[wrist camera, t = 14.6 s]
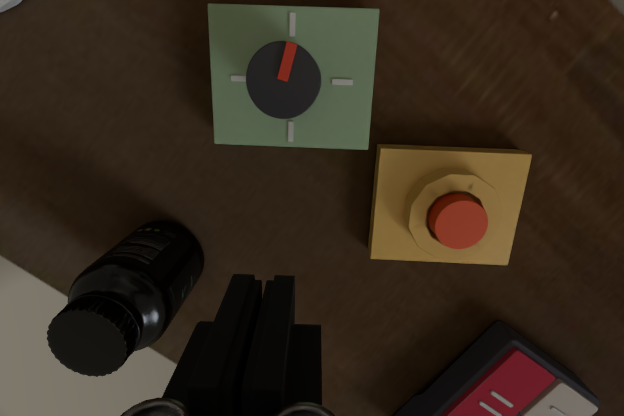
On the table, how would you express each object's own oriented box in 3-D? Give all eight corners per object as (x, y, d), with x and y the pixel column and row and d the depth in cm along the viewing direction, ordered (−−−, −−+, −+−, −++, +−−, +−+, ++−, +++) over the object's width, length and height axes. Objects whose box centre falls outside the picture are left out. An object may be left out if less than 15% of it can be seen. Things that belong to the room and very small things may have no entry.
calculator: (610, 410, 33) (486, 512, 36) (577, 374, 37) (469, 469, 40) (518, 343, 31) (398, 458, 34) (494, 314, 35) (389, 419, 39)
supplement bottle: (113, 252, 34) (5, 340, 23) (162, 202, 32) (72, 271, 21) (172, 302, 35) (98, 408, 24) (222, 257, 34) (168, 349, 22)
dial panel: (224, 137, 30) (213, 144, 27) (219, 10, 27) (206, 2, 24) (364, 143, 30) (368, 150, 27) (374, 15, 27) (379, 7, 24)
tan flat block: (367, 248, 33) (373, 270, 29) (377, 143, 30) (384, 153, 26) (497, 254, 33) (519, 277, 29) (519, 149, 30) (547, 159, 26)
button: (425, 238, 28) (431, 248, 27) (431, 191, 27) (438, 199, 26) (474, 240, 28) (483, 250, 27) (482, 194, 27) (492, 201, 26)
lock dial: (311, 118, 26) (307, 128, 21) (255, 100, 26) (236, 107, 21) (328, 59, 25) (329, 53, 20) (270, 40, 25) (254, 29, 19)
